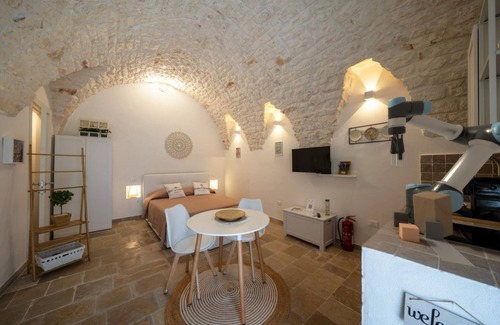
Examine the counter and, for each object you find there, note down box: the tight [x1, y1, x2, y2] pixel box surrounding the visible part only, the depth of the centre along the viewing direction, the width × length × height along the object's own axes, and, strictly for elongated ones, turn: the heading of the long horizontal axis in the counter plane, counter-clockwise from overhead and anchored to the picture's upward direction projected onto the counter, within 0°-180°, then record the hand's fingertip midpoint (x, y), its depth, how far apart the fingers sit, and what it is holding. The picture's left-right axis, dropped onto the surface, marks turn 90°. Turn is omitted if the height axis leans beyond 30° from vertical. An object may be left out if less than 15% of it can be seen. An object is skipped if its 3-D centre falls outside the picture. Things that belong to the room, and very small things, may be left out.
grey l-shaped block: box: [421, 220, 476, 267], centre depth 77 cm, size 24×8×9 cm, turn 151°
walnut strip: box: [390, 211, 426, 247], centre depth 91 cm, size 24×8×9 cm, turn 151°
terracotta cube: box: [399, 223, 420, 242], centre depth 87 cm, size 6×6×6 cm
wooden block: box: [413, 191, 454, 238], centre depth 92 cm, size 10×10×20 cm
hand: (396, 165), depth 100 cm, fingers open, 13 cm apart
